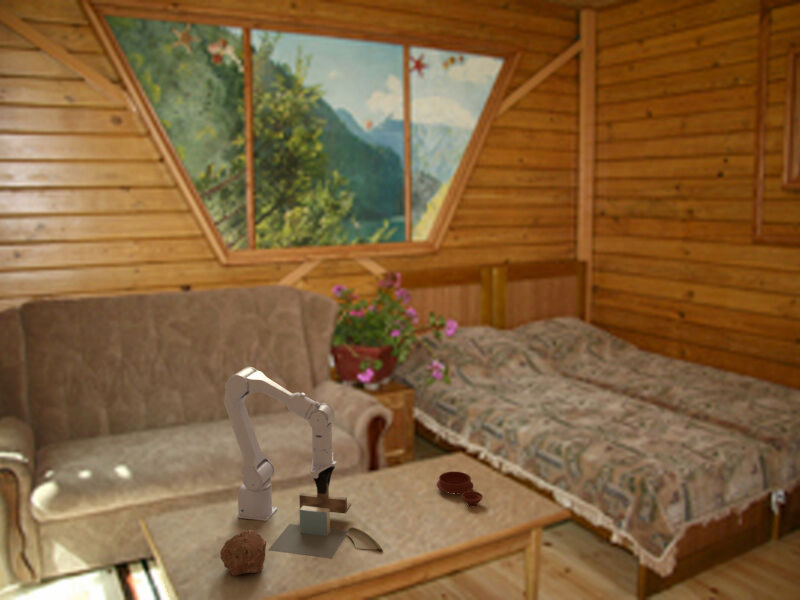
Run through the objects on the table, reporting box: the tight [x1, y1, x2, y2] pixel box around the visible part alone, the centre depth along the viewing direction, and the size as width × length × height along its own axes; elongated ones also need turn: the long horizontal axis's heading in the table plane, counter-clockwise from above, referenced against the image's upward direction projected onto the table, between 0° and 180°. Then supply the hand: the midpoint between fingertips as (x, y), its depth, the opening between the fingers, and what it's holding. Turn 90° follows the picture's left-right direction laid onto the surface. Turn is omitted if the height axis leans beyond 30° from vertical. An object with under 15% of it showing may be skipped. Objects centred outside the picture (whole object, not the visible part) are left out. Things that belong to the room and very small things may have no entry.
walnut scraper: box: [298, 483, 352, 514], centre depth 209 cm, size 14×6×8 cm, turn 77°
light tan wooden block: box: [299, 506, 331, 536], centre depth 201 cm, size 8×2×7 cm, turn 76°
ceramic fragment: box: [346, 526, 383, 552], centre depth 195 cm, size 14×5×4 cm, turn 43°
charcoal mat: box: [268, 523, 348, 559], centre depth 197 cm, size 18×15×1 cm
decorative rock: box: [219, 529, 267, 576], centre depth 182 cm, size 13×11×10 cm
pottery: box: [436, 471, 484, 507], centre depth 225 cm, size 12×20×4 cm, turn 24°
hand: (323, 491), depth 207 cm, fingers closed on walnut scraper
